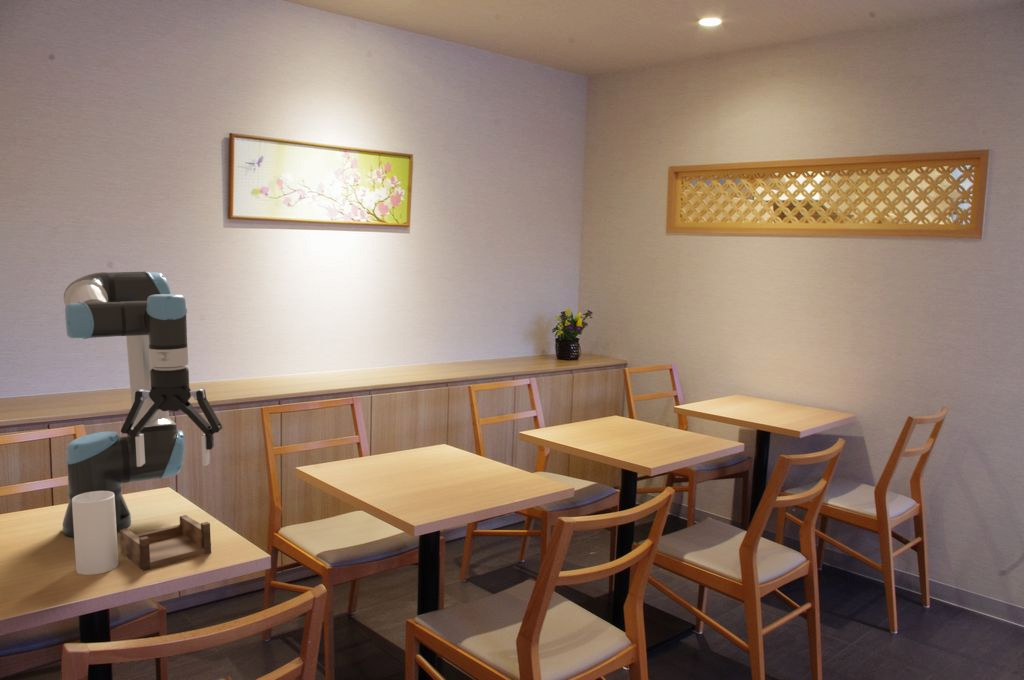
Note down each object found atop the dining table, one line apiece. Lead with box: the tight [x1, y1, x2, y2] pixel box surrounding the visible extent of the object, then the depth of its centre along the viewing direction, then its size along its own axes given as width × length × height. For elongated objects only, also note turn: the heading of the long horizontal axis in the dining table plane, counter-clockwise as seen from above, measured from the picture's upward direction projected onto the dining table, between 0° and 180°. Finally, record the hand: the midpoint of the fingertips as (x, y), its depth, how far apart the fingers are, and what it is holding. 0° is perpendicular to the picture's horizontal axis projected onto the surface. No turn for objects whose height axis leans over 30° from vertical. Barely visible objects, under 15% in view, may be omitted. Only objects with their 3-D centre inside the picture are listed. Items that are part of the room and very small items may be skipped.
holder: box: [119, 514, 212, 572], centre depth 182 cm, size 14×15×7 cm
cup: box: [72, 491, 119, 576], centre depth 173 cm, size 8×8×16 cm
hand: (173, 464), depth 171 cm, fingers open, 13 cm apart
